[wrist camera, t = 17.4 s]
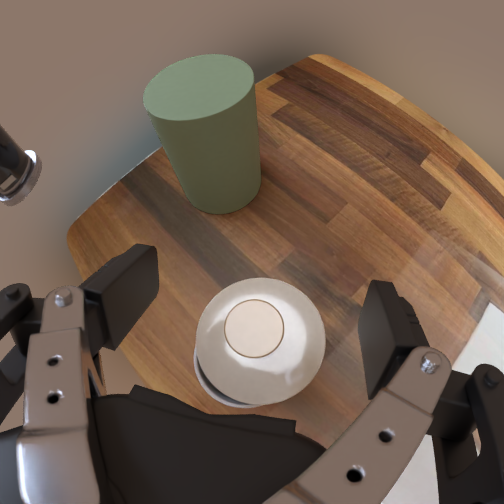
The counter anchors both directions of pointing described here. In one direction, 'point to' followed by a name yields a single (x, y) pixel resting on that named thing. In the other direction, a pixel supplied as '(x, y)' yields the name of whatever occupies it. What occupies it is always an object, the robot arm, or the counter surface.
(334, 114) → the counter surface
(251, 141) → the cylinder
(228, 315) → the lid
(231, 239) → the counter surface
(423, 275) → the counter surface
